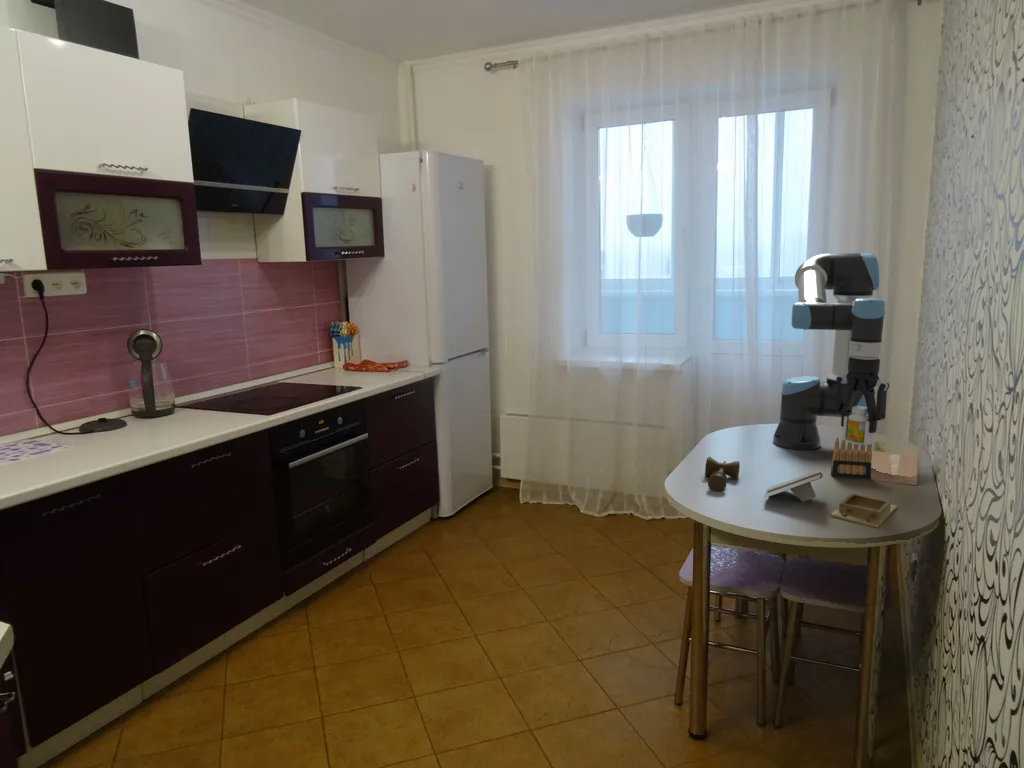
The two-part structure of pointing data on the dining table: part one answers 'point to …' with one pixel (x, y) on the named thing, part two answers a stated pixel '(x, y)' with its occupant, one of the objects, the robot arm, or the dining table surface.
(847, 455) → the ammunition clip
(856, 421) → the supplement bottle
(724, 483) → the kendama
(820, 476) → the grey tablet stand
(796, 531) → the dining table surface
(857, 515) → the wooden holder tray
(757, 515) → the dining table surface
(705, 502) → the dining table surface
